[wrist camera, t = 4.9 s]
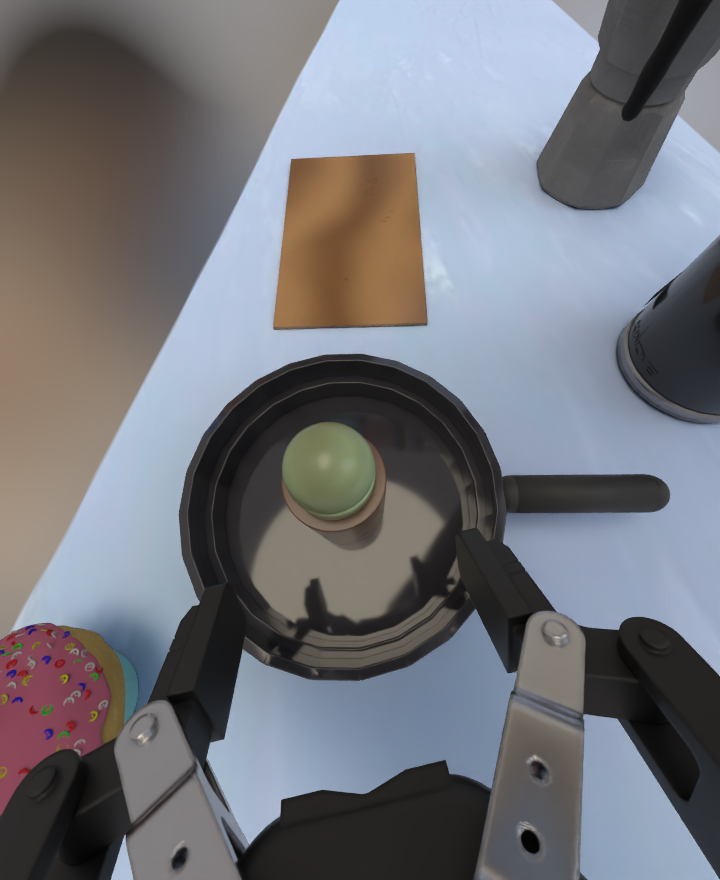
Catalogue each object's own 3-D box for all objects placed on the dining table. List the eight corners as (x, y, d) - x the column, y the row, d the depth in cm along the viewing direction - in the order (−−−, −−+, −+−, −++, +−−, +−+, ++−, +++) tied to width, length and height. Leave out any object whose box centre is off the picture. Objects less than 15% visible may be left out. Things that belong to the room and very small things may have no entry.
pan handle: (646, 479, 20) (673, 469, 18) (656, 515, 19) (685, 508, 18) (484, 480, 21) (495, 471, 19) (489, 515, 20) (500, 509, 18)
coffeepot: (552, 122, 35) (710, -286, 19) (653, 143, 34) (928, -288, 17) (507, 228, 31) (662, -190, 14) (621, 258, 29) (957, -178, 12)
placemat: (414, 156, 35) (414, 152, 34) (426, 325, 28) (427, 322, 27) (292, 162, 35) (291, 158, 35) (274, 329, 28) (272, 327, 28)
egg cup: (383, 466, 23) (387, 392, 14) (385, 544, 21) (390, 520, 12) (309, 467, 23) (263, 395, 14) (305, 544, 21) (249, 521, 12)
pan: (466, 387, 26) (484, 350, 21) (498, 660, 20) (531, 684, 15) (234, 391, 26) (206, 357, 22) (195, 656, 20) (148, 677, 16)
